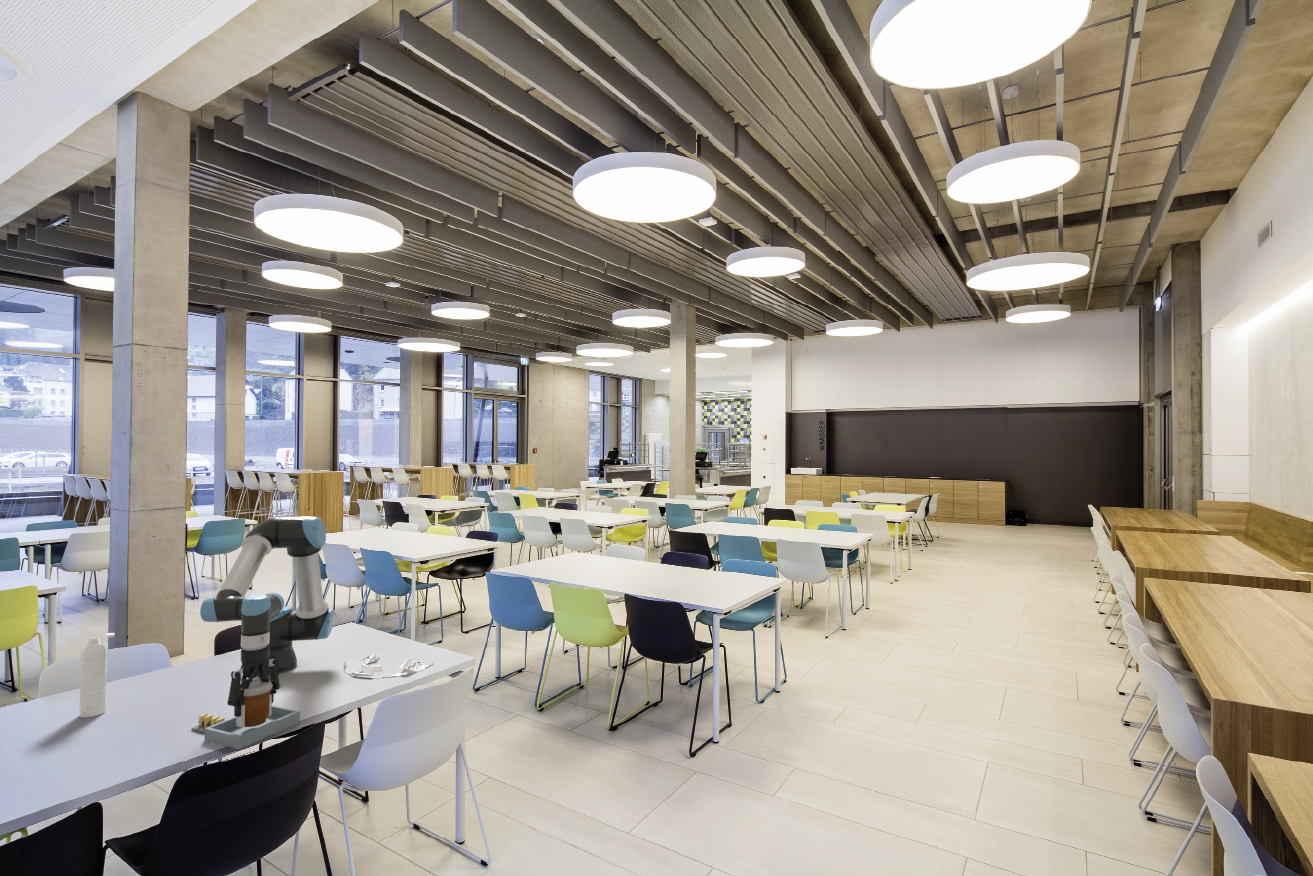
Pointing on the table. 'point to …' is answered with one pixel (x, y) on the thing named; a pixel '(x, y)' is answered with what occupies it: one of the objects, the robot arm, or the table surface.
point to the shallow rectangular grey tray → (251, 729)
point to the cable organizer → (379, 669)
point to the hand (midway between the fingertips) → (254, 720)
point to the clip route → (206, 722)
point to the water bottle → (93, 678)
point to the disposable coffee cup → (256, 702)
